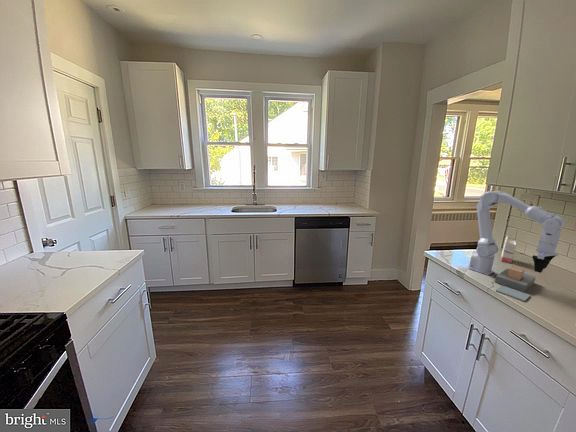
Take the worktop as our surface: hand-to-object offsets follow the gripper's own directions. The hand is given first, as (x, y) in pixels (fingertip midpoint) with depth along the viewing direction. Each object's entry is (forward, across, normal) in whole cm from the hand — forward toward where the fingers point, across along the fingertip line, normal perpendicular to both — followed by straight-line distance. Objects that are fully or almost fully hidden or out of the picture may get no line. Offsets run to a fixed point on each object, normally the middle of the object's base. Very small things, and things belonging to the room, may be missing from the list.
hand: (539, 269), depth 113 cm
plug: (+10, -2, +7) cm, 13 cm away
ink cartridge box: (+10, +32, +19) cm, 39 cm away
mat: (+10, -14, +4) cm, 18 cm away
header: (+10, 0, +7) cm, 12 cm away
